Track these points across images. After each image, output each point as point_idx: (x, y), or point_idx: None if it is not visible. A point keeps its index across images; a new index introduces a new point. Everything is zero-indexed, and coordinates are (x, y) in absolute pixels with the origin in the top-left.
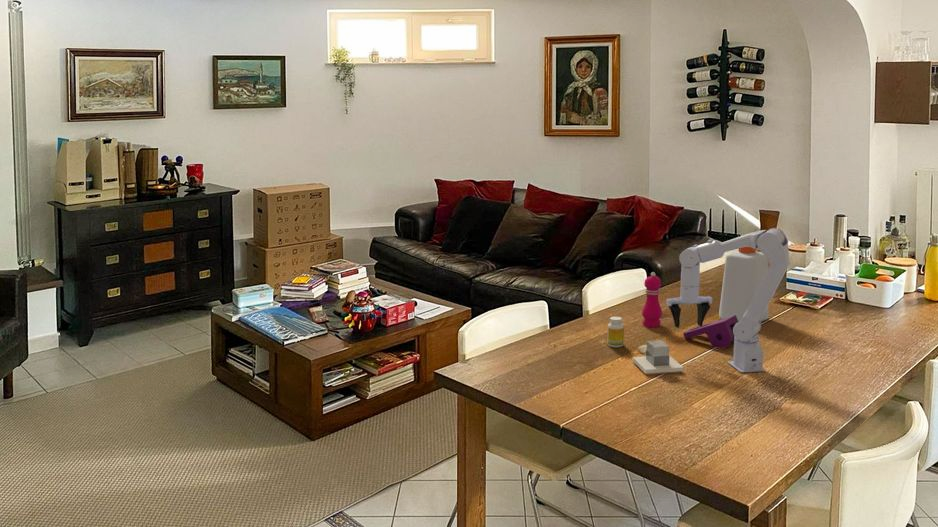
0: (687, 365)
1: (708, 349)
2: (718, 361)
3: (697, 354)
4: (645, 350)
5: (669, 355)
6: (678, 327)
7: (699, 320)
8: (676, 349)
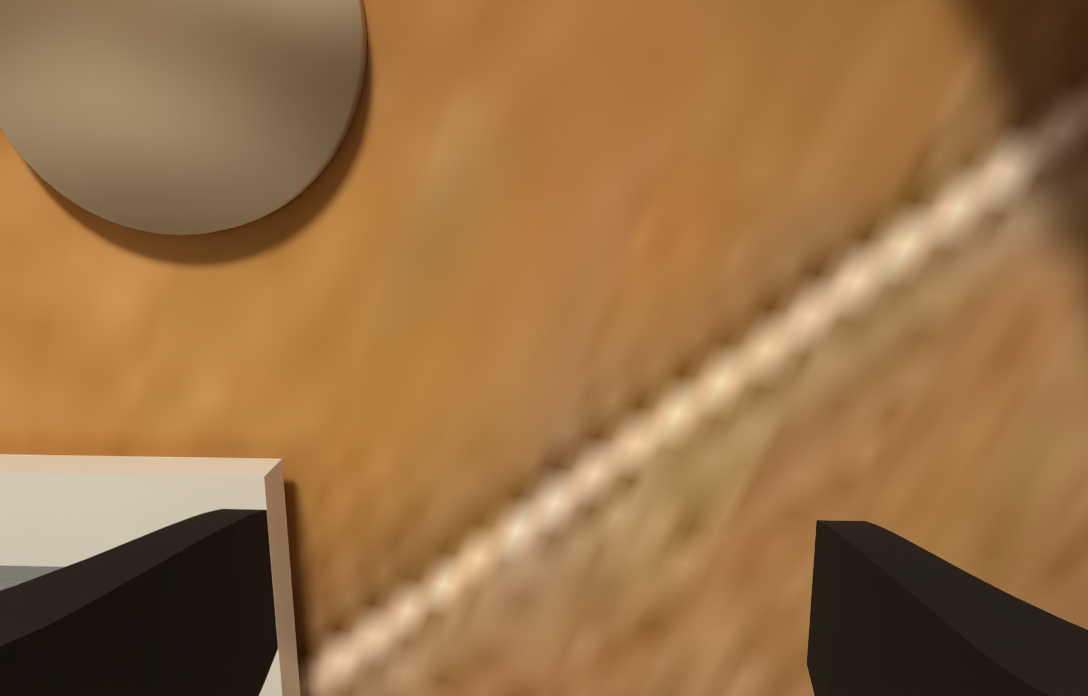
0: (452, 657)
1: (1005, 128)
2: None
3: (744, 310)
4: (54, 84)
5: (264, 503)
6: (264, 646)
7: (852, 693)
8: (542, 40)
